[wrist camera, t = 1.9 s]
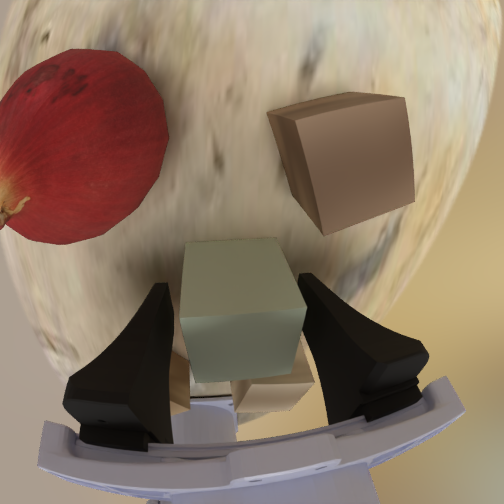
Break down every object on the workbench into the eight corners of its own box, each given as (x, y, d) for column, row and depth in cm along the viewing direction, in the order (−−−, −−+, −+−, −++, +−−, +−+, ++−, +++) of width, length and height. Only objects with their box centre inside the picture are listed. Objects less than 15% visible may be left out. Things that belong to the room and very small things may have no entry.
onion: (38, 120, 8) (-96, 184, 1) (136, 36, 7) (26, -35, 1) (102, 213, 11) (22, 350, 5) (205, 143, 10) (200, 241, 4)
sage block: (269, 302, 16) (290, 373, 12) (194, 308, 15) (195, 383, 11) (275, 236, 13) (307, 307, 9) (185, 241, 13) (179, 317, 9)
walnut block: (365, 170, 12) (414, 202, 9) (291, 194, 12) (323, 236, 9) (349, 91, 10) (404, 97, 7) (266, 112, 10) (295, 120, 7)
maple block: (278, 367, 20) (289, 410, 17) (228, 365, 19) (234, 412, 15) (298, 334, 18) (315, 382, 15) (242, 331, 17) (251, 384, 14)
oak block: (189, 360, 18) (190, 409, 15) (153, 377, 19) (150, 421, 15) (147, 332, 16) (140, 385, 12) (113, 352, 17) (104, 400, 13)
